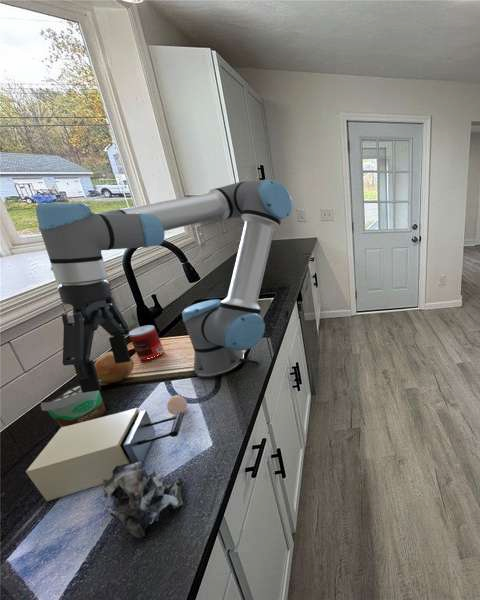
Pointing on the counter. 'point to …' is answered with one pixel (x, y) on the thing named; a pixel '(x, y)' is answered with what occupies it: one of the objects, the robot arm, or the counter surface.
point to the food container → (75, 407)
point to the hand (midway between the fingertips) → (109, 375)
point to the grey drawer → (145, 435)
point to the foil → (139, 496)
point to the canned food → (146, 342)
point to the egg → (176, 404)
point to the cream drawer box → (81, 455)
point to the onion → (112, 368)
